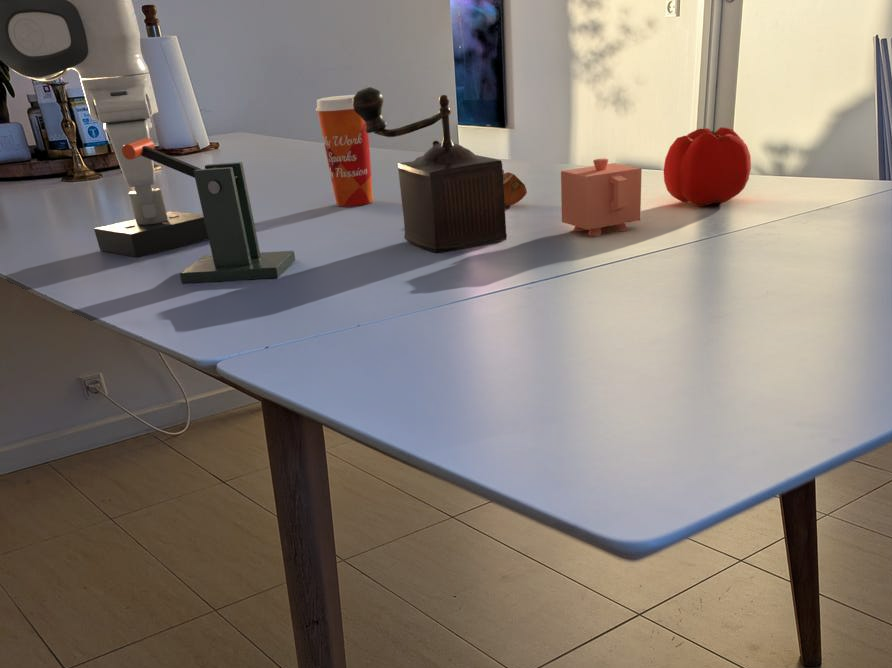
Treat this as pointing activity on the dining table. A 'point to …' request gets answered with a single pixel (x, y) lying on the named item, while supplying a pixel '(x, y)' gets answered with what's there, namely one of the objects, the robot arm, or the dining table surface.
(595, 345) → the dining table surface
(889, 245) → the dining table surface
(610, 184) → the pink cube teapot
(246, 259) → the switch bracket
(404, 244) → the dining table surface
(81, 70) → the robot arm
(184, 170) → the lever
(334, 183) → the coffee cup
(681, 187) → the tomato
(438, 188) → the brown coffee grinder
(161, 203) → the knob
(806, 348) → the dining table surface
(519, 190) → the bread roll
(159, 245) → the dial panel
